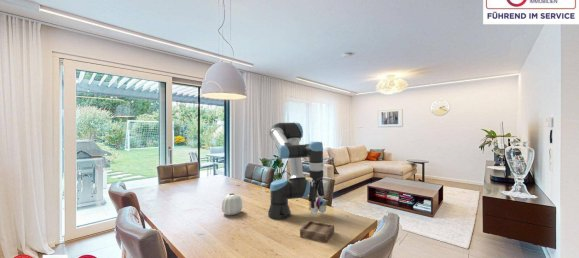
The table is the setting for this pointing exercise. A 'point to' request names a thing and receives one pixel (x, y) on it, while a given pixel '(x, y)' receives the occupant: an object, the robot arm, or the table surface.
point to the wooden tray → (317, 231)
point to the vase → (231, 204)
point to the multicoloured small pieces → (319, 206)
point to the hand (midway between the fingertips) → (317, 210)
